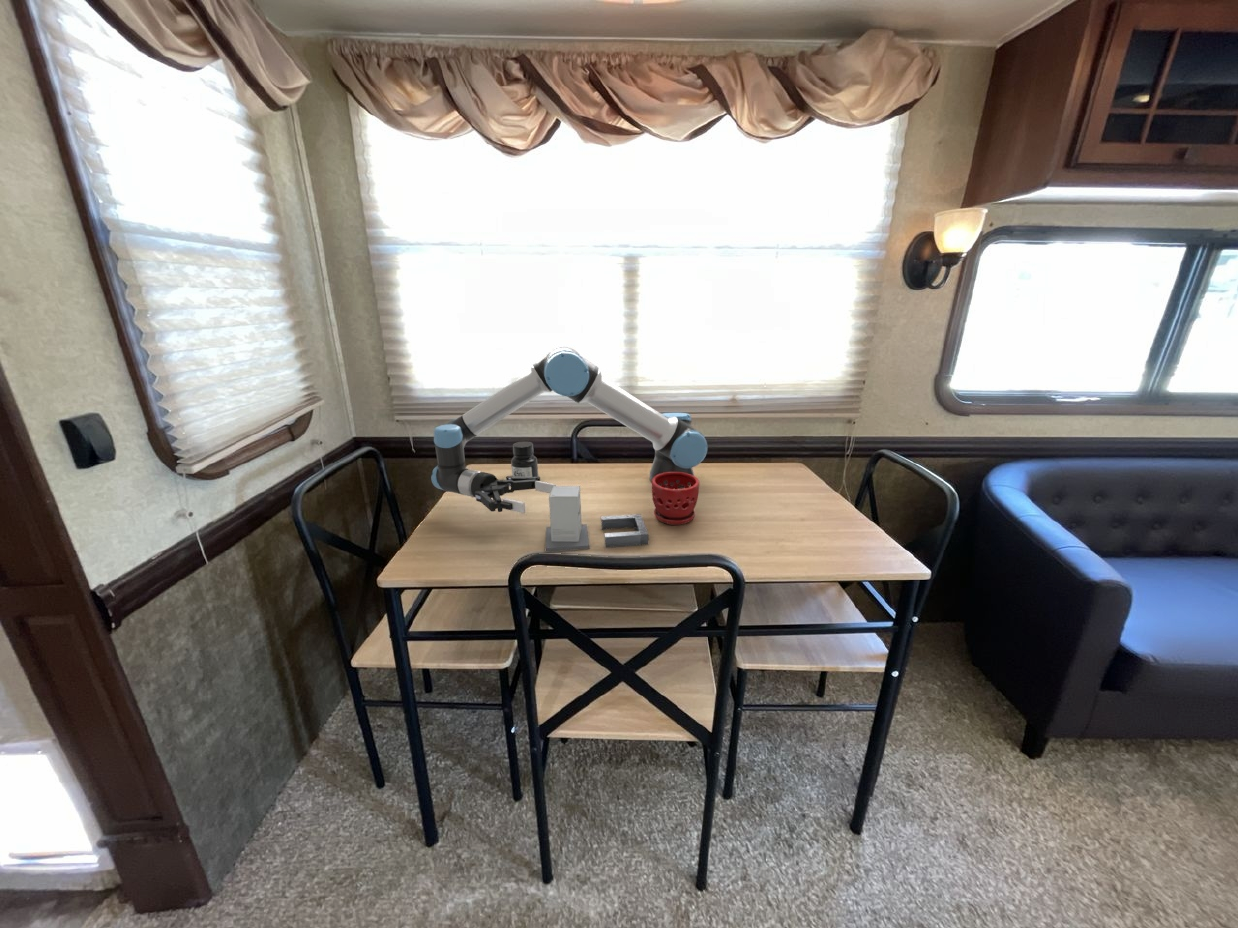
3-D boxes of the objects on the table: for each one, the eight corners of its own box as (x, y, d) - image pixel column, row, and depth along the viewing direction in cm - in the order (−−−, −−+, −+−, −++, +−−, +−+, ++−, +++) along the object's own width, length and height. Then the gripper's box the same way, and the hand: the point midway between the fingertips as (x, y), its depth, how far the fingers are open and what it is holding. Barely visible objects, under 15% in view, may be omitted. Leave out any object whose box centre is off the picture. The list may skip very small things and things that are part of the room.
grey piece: (640, 523, 137) (640, 514, 136) (648, 544, 126) (648, 534, 125) (601, 526, 136) (601, 516, 135) (605, 547, 125) (605, 537, 124)
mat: (586, 527, 135) (586, 524, 135) (589, 548, 124) (589, 545, 124) (546, 529, 134) (546, 526, 134) (545, 551, 123) (545, 548, 123)
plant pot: (643, 513, 143) (643, 475, 139) (682, 505, 148) (684, 468, 144) (664, 532, 132) (665, 491, 128) (706, 523, 137) (708, 483, 133)
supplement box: (579, 542, 125) (577, 496, 121) (550, 542, 126) (547, 496, 121) (582, 528, 132) (580, 485, 128) (555, 528, 132) (552, 485, 128)
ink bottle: (506, 478, 171) (503, 445, 167) (522, 470, 178) (519, 439, 174) (528, 483, 167) (526, 449, 163) (544, 475, 174) (542, 442, 170)
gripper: (509, 482, 150) (567, 494, 141) (447, 513, 129) (510, 530, 120) (506, 459, 148) (566, 470, 138) (443, 487, 127) (508, 502, 117)
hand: (540, 498), depth 129 cm, fingers open, 13 cm apart
